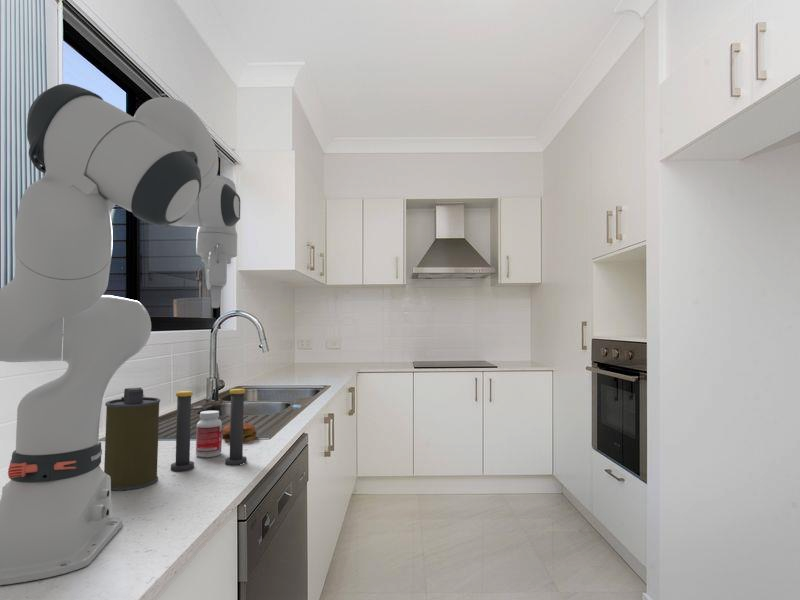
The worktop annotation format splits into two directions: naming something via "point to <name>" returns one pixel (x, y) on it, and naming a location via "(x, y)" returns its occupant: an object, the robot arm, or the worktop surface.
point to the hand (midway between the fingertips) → (215, 307)
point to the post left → (183, 432)
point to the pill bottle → (209, 435)
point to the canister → (132, 440)
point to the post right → (236, 428)
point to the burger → (248, 432)
